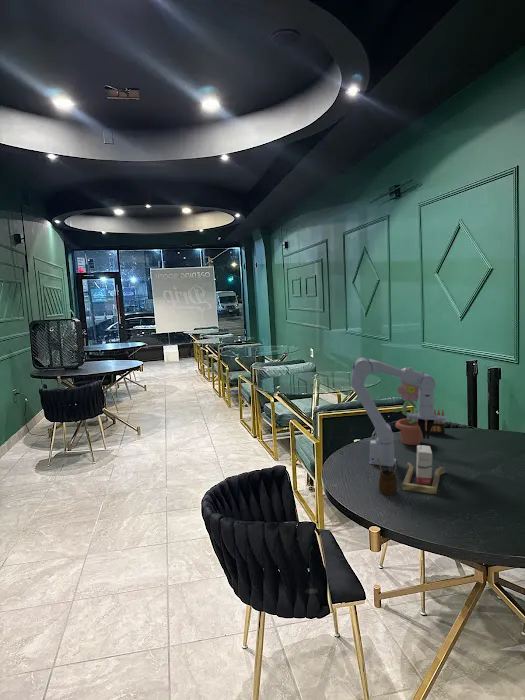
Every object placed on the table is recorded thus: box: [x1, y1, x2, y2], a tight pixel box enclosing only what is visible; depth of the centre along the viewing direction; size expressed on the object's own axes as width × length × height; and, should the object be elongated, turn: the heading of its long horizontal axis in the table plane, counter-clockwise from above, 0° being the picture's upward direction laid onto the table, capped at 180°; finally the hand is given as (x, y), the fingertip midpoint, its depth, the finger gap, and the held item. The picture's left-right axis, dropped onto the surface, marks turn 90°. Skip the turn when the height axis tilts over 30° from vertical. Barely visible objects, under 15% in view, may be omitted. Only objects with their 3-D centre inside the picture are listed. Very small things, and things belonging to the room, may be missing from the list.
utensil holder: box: [378, 457, 398, 496], centre depth 157 cm, size 6×6×12 cm
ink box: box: [415, 444, 433, 486], centre depth 165 cm, size 9×5×12 cm, turn 165°
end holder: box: [402, 462, 446, 495], centre depth 166 cm, size 14×21×2 cm, turn 154°
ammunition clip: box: [425, 408, 446, 435], centre depth 218 cm, size 11×2×12 cm, turn 68°
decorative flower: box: [393, 381, 427, 446], centre depth 205 cm, size 15×14×30 cm
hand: (426, 438), depth 180 cm, fingers closed
